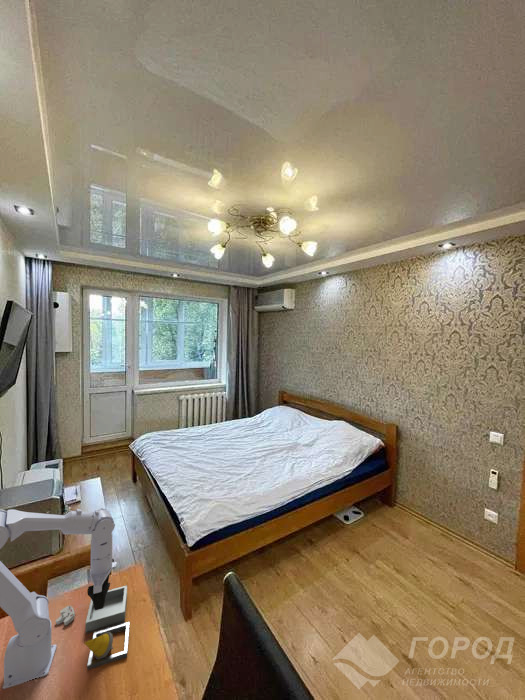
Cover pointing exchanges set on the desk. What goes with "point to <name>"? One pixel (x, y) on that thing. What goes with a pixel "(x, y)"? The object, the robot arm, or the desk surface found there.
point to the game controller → (66, 615)
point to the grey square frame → (115, 656)
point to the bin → (108, 611)
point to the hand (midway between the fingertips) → (101, 597)
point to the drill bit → (101, 645)
